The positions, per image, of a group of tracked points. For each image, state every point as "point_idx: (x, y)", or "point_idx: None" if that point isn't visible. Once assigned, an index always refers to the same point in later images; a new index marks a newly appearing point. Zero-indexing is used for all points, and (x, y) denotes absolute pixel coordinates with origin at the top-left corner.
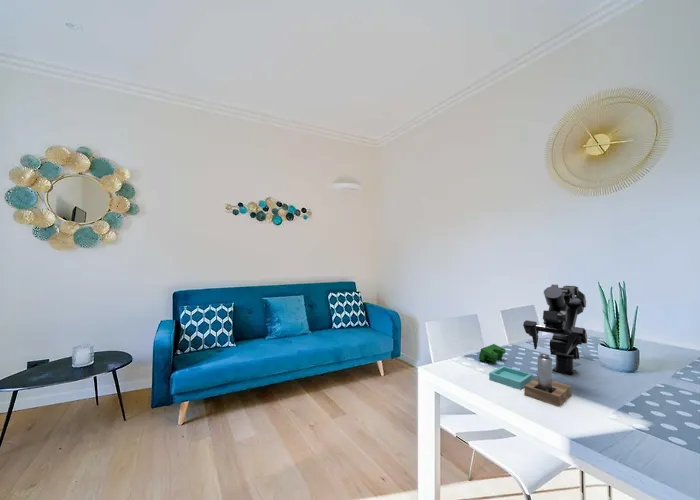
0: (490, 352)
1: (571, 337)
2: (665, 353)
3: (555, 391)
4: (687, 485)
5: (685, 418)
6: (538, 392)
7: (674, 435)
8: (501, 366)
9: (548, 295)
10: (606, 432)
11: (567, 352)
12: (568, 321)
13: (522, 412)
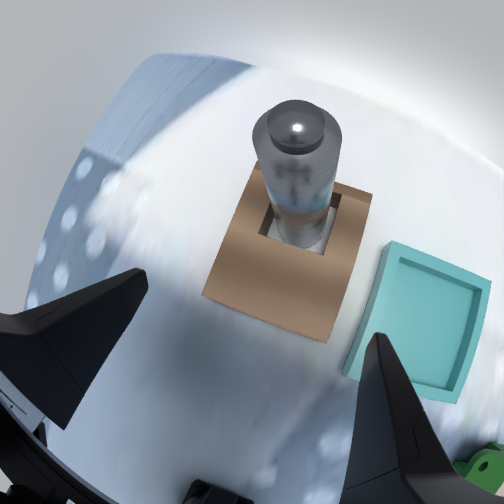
0: (491, 463)
1: (4, 323)
2: None
3: (265, 200)
4: (141, 66)
5: (36, 278)
6: None
7: (77, 184)
8: (460, 390)
9: None
10: (182, 116)
11: (125, 273)
12: None
13: (348, 103)
